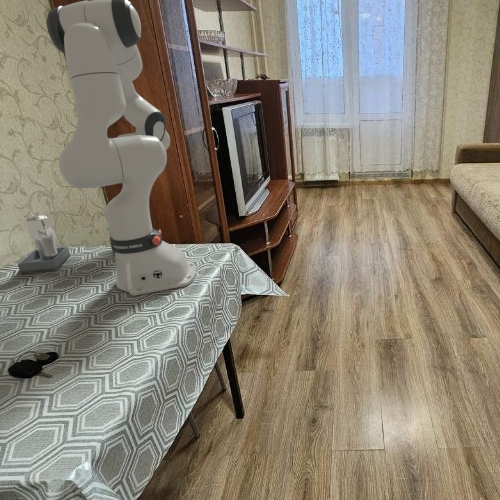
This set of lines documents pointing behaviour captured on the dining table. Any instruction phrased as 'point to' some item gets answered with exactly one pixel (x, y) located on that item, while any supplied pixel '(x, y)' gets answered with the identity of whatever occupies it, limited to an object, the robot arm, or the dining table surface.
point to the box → (43, 262)
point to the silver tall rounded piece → (43, 236)
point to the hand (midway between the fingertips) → (89, 154)
